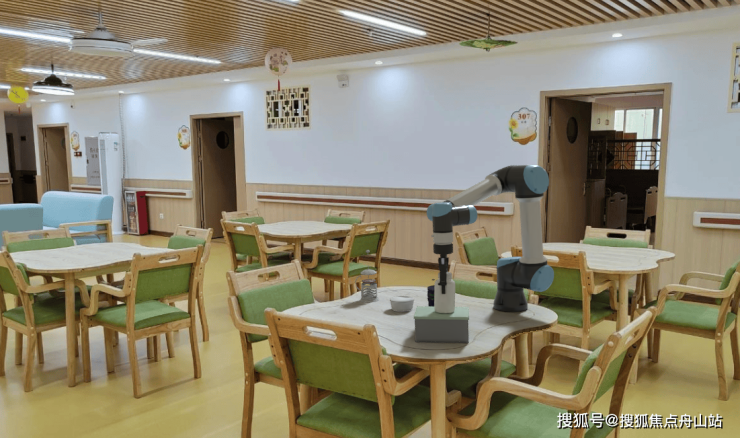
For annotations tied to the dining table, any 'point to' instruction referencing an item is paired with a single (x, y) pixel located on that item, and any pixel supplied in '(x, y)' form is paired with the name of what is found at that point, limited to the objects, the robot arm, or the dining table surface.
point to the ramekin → (401, 303)
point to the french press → (368, 286)
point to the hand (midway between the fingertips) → (444, 297)
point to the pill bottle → (450, 305)
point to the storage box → (441, 331)
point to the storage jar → (431, 295)
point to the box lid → (430, 313)
